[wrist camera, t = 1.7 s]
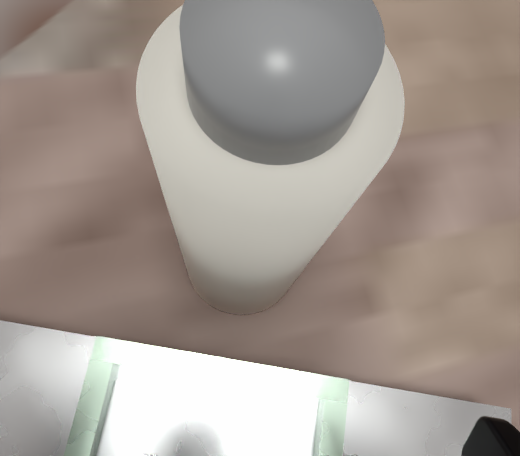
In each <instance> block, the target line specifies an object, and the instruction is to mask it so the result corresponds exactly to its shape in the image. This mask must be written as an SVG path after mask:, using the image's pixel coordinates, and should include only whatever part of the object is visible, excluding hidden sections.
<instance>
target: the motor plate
mask: <svg viewBox="0 0 520 456" xmlns="http://www.w3.org/2000/svg"><path fill="white" fill-rule="evenodd" d="M482 416H488V417H494V418H500V419H504V420H506V421H508V422H509V423H511V409H509V408H503V407H498V406H492V405H486V404H480V403H475V402H469V401H463V400H457V399H452V398H446V397H440V396H434V395H428V394H423V393H417V392H411V391H405V390H400V389H394V388H388V387H382V386H376V385H371V384H365V383H359V382H353V381H350V380H349V379H343V378H337V377H331V376H326V375H320V374H314V373H308V372H302V371H297V370H291V369H285V368H279V367H274V366H268V365H262V364H256V363H250V362H245V361H239V360H233V359H227V358H222V357H216V356H210V355H204V354H199V353H193V352H187V351H181V350H175V349H170V348H164V347H158V346H152V345H147V344H141V343H135V342H129V341H124V340H118V339H112V338H106V337H100V336H96V337H94V336H88V335H82V334H76V333H70V332H65V331H59V330H53V329H47V328H42V327H36V326H30V325H24V324H18V323H13V322H7V321H1V320H0V456H461V451H462V447H463V445H464V443H465V441H466V439H467V438H468V436H469V434H470V432H471V430H472V429H473V427H474V425H475V423H476V421H477V420H478V419H479V418H480V417H482Z"/></svg>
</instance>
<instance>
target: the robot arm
mask: <svg viewBox="0 0 520 456" xmlns="http://www.w3.org/2000/svg"><path fill="white" fill-rule="evenodd" d="M461 456H520V432H519V431H518V430H517V429H516V428H515V427H514V426H513V425H512V424H511V423H509V422H508V421H506V420H504V419H500V418H494V417H488V416H482V417H480V418H479V419H478V420H477V421H476V423H475V425H474V427H473V429H472V430H471V432H470V434H469V436H468V438H467V439H466V441H465V443H464V445H463V447H462V451H461Z"/></svg>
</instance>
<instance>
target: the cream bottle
mask: <svg viewBox="0 0 520 456" xmlns="http://www.w3.org/2000/svg"><path fill="white" fill-rule="evenodd" d="M136 100H137V106H138V112H139V117H140V120H141V123H142V127H143V130H144V133H145V136H146V140H147V143H148V146H149V149H150V153H151V156H152V159H153V162H154V166H155V169H156V172H157V175H158V179H159V182H160V185H161V188H162V192H163V195H164V198H165V201H166V204H167V208H168V211H169V214H170V217H171V221H172V224H173V227H174V230H175V234H176V237H177V240H178V243H179V247H180V250H181V253H182V256H183V260H184V263H185V266H186V269H187V273H188V276H189V279H190V281H191V283H192V285H193V287H194V289H195V290H196V292H197V293H198V294H199V296H200V297H201V298H202V299H203V300H204V301H206V302H207V303H208V304H209V305H211V306H213V307H214V308H216V309H218V310H220V311H223V312H226V313H230V314H236V315H246V314H253V313H257V312H260V311H263V310H266V309H267V308H269V307H271V306H273V305H274V304H275V303H277V302H278V301H279V300H280V299H281V298H282V297H283V296H284V295H285V293H286V292H287V291H288V289H289V288H290V287H291V286H292V284H293V283H294V282H295V280H296V279H297V278H298V276H299V275H300V274H301V273H302V271H303V270H304V269H305V267H306V266H307V265H308V263H309V262H310V261H311V260H312V258H313V257H314V256H315V254H316V253H317V252H318V250H319V249H320V248H321V247H322V245H323V244H324V243H325V241H326V240H327V239H328V237H329V236H330V235H331V234H332V232H333V231H334V230H335V228H336V227H337V226H338V224H339V223H340V222H341V221H342V219H343V218H344V217H345V215H346V214H347V213H348V211H349V210H350V209H351V208H352V206H353V205H354V204H355V202H356V201H357V200H358V198H359V197H360V196H361V194H362V193H363V192H364V191H365V189H366V188H367V187H368V185H369V184H370V183H371V181H372V180H373V179H374V178H375V176H376V175H377V174H378V172H379V171H380V170H381V168H382V167H383V166H384V165H385V163H386V162H387V161H388V159H389V157H390V155H391V154H392V152H393V150H394V148H395V146H396V144H397V141H398V138H399V136H400V133H401V129H402V124H403V119H404V104H405V102H404V92H403V85H402V81H401V77H400V73H399V71H398V68H397V66H396V63H395V61H394V59H393V57H392V55H391V53H390V51H389V50H388V48H387V46H386V45H385V36H384V29H383V24H382V20H381V18H380V15H379V13H378V10H377V8H376V6H375V5H374V3H373V1H372V0H185V2H184V4H183V5H182V6H181V7H179V8H178V9H176V10H175V11H174V12H173V13H172V14H171V15H170V16H168V17H167V18H166V19H165V20H164V22H163V23H162V24H161V25H160V26H159V27H158V28H157V30H156V31H155V33H154V34H153V36H152V37H151V39H150V40H149V42H148V44H147V46H146V48H145V50H144V53H143V55H142V58H141V61H140V65H139V68H138V73H137V82H136Z"/></svg>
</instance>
